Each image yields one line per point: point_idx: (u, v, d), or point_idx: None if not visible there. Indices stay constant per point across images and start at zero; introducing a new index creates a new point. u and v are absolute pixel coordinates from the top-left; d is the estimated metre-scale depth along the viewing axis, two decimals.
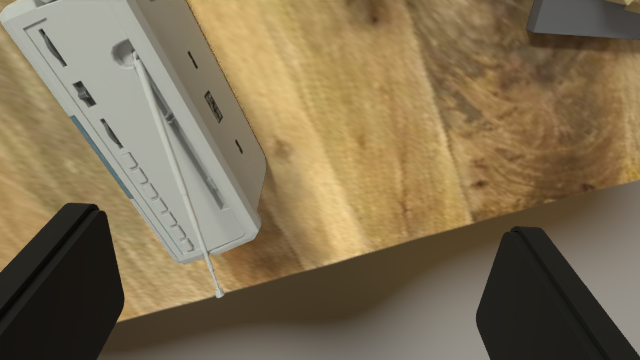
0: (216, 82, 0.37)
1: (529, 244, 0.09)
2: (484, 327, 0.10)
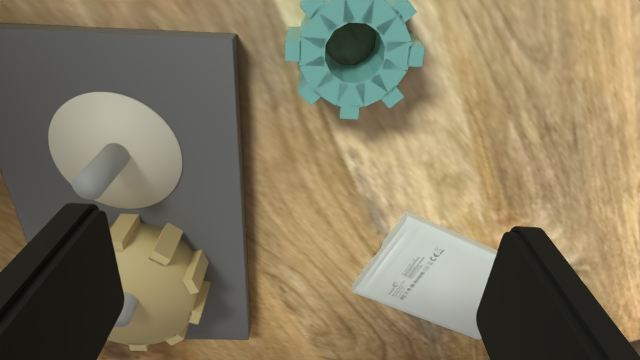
0: None
1: (528, 244, 0.09)
2: (484, 327, 0.10)
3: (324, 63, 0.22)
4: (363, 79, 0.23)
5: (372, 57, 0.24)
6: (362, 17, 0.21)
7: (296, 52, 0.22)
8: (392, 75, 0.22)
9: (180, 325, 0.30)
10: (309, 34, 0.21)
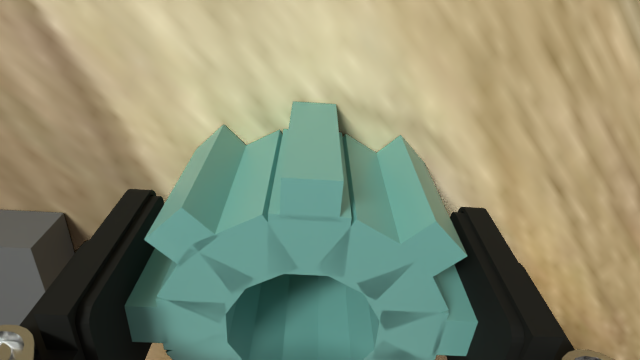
0: None
1: (471, 224, 0.10)
2: None
3: (227, 347, 0.09)
4: None
5: None
6: (318, 262, 0.08)
7: (153, 327, 0.08)
8: None
9: None
10: (181, 294, 0.08)
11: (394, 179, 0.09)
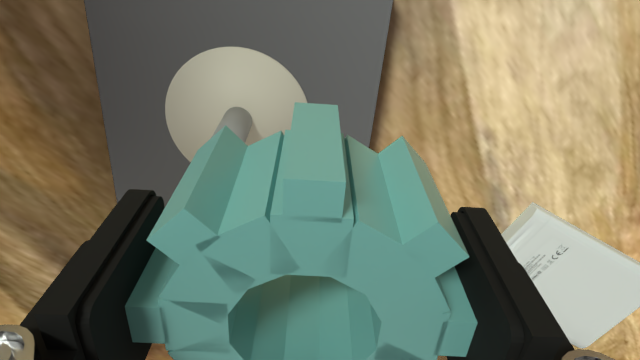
0: None
1: (471, 224, 0.10)
2: None
3: (229, 348, 0.09)
4: None
5: None
6: (320, 263, 0.08)
7: (155, 327, 0.08)
8: None
9: None
10: (183, 295, 0.08)
11: (396, 180, 0.09)
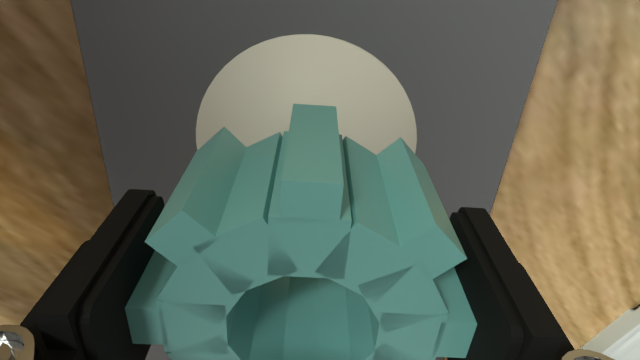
0: None
1: (471, 224, 0.10)
2: None
3: (227, 349, 0.09)
4: None
5: None
6: (318, 265, 0.08)
7: (153, 329, 0.08)
8: None
9: None
10: (181, 296, 0.08)
11: (394, 181, 0.09)
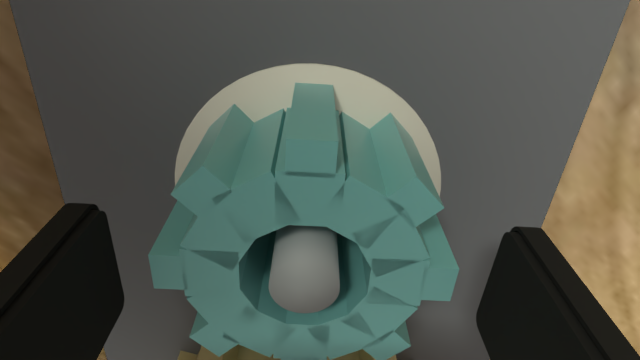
0: None
1: (529, 245, 0.09)
2: (484, 327, 0.10)
3: (239, 293, 0.10)
4: (326, 312, 0.11)
5: (350, 239, 0.13)
6: (317, 215, 0.09)
7: (176, 274, 0.10)
8: (386, 313, 0.10)
9: None
10: (200, 244, 0.09)
11: (384, 148, 0.10)
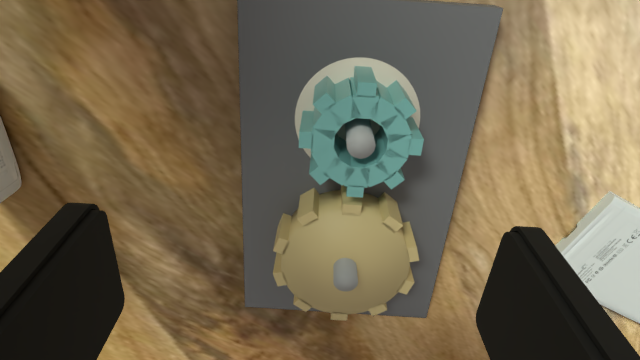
0: None
1: (528, 244, 0.09)
2: (484, 327, 0.10)
3: (333, 150, 0.24)
4: (368, 163, 0.25)
5: (377, 139, 0.27)
6: (367, 113, 0.23)
7: (308, 141, 0.24)
8: (394, 162, 0.25)
9: (389, 295, 0.30)
10: (320, 127, 0.24)
11: (393, 92, 0.25)
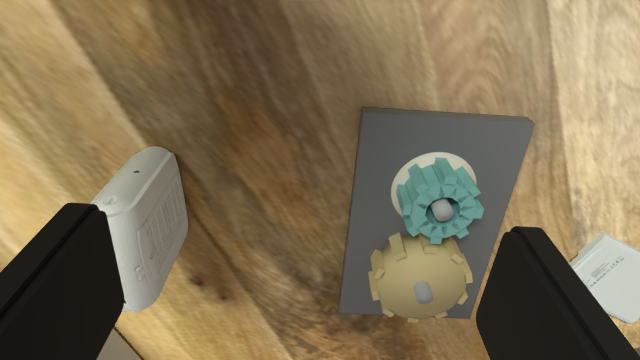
0: (103, 347, 0.49)
1: (528, 245, 0.09)
2: (484, 327, 0.10)
3: (424, 216, 0.38)
4: (445, 223, 0.38)
5: None
6: (449, 194, 0.36)
7: (409, 210, 0.37)
8: (463, 222, 0.38)
9: (450, 305, 0.44)
10: (418, 202, 0.37)
11: (462, 177, 0.38)
